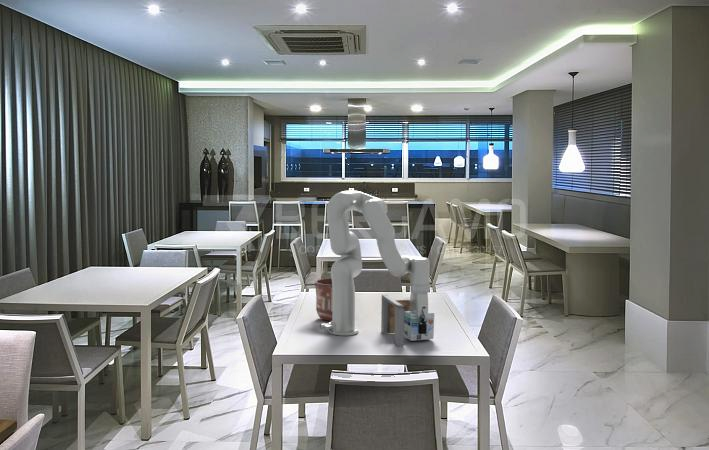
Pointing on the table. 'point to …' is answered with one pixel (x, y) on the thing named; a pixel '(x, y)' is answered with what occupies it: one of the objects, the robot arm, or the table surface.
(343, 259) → the robot arm
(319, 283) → the pottery
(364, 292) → the table surface
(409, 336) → the light bulb box
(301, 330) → the table surface
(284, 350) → the table surface
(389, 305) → the door
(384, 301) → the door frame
